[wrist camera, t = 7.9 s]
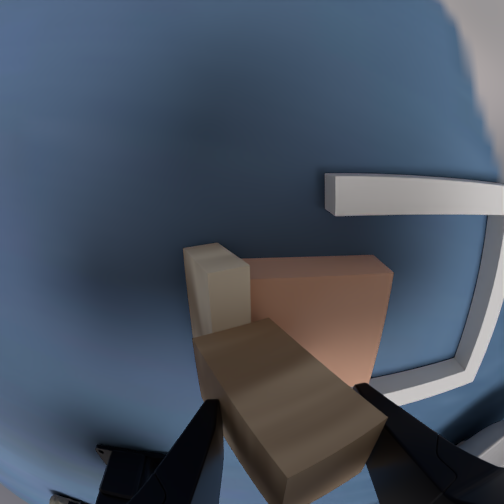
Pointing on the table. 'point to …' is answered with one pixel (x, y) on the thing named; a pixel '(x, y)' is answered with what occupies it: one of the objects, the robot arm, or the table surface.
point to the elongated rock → (60, 500)
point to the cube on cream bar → (272, 389)
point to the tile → (326, 307)
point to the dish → (487, 444)
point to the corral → (490, 273)
